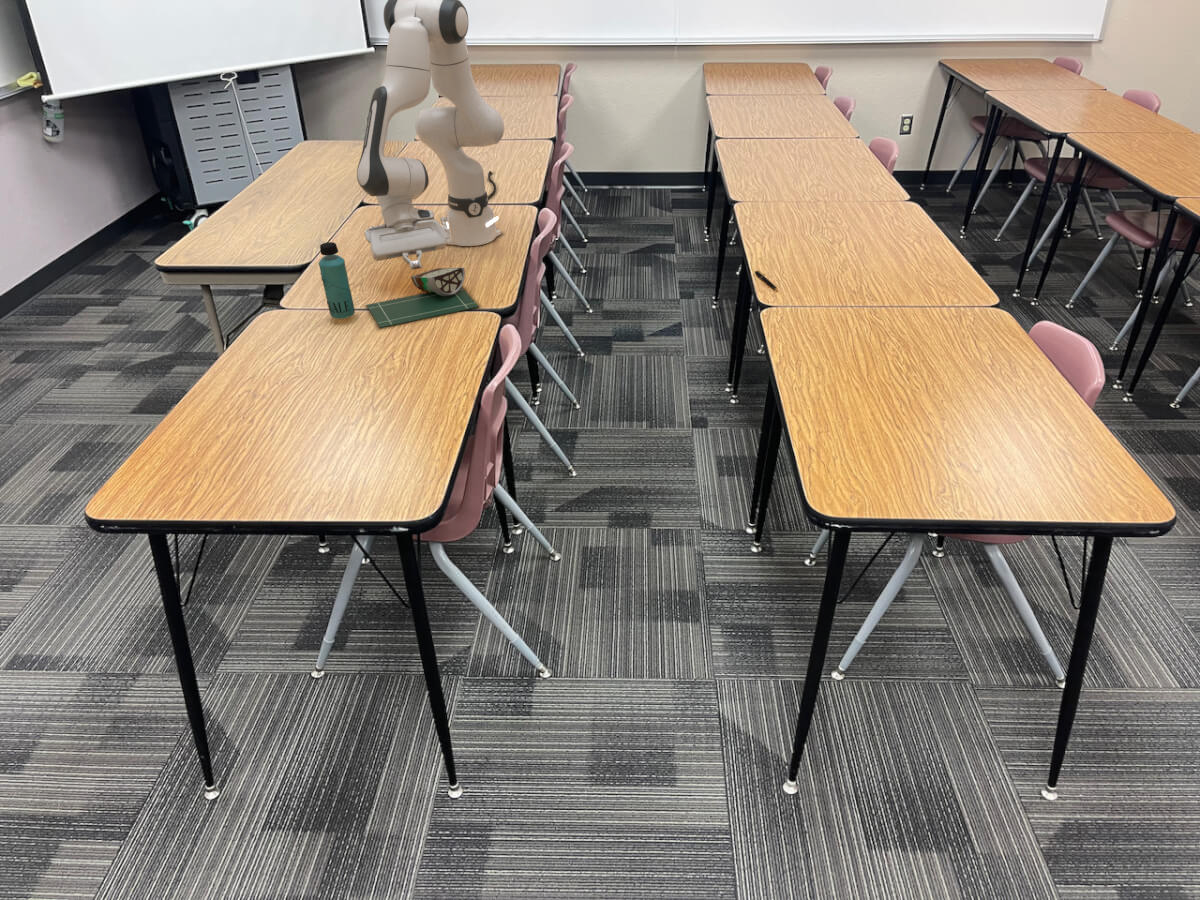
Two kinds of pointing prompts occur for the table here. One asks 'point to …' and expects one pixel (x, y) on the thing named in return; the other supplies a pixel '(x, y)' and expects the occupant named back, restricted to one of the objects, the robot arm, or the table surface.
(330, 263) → the beverage bottle
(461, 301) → the cutting mat
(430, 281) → the grey green half-round piece
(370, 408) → the table surface
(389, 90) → the robot arm
